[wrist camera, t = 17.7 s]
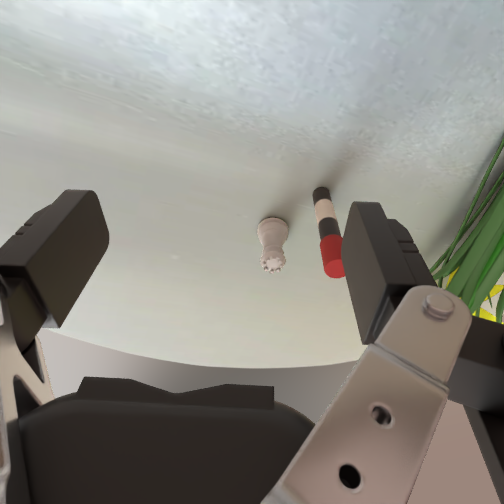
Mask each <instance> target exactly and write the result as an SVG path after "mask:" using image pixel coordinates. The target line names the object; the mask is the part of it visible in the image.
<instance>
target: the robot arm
mask: <svg viewBox="0 0 504 504" xmlns="http://www.w3.org/2000/svg"><path fill="white" fill-rule="evenodd" d="M413 242H414V241H413V239H412V237H411V235H410V233H409V232H408V230H407V229H406V228H405V227H404V226H403V225H401V224H400V223H399V222H398V221H397V220H395V219H387V217H386V215H385V213H384V211H383V209H382V207H381V205H380V203H378V202H355V201H354V202H353V203H352V205H351V208H350V211H349V215H348V220H347V224H346V228H345V232H344V236H343V240H342V246H341V259H342V264H343V268H344V272H345V276H346V280H347V284H348V288H349V292H350V296H351V300H352V304H353V308H354V312H355V316H356V320H357V325H358V329H359V333H360V337H361V341H362V344H363V345H368V347H367V348H366V350H365V351H364V353H363V354H362V356H361V357H360V359H359V360H358V362H357V363H356V365H355V366H354V368H353V369H352V371H351V372H350V374H349V375H348V377H347V378H346V380H345V381H344V383H343V384H342V386H341V387H340V389H339V390H338V392H337V393H336V395H335V396H334V398H333V399H332V401H331V402H330V404H329V405H328V407H327V408H326V410H325V411H324V413H323V414H322V416H321V417H320V419H319V420H318V422H317V423H316V424H315V423H313V422H312V421H311V420H310V419H308V418H307V417H306V416H305V415H303V414H301V413H300V412H298V411H297V410H295V409H293V408H291V407H289V406H287V405H285V404H283V403H280V402H276V401H274V387H273V386H272V387H271V386H255V385H236V384H225V385H220V386H214V387H210V388H204V389H199V390H194V391H189V392H184V393H171V392H168V391H165V390H162V389H159V388H156V387H153V386H150V385H146V384H143V383H141V382H138V381H135V380H132V379H121V378H102V377H84V378H83V380H82V382H81V384H80V386H79V389H78V391H77V392H75V393H71V394H68V395H65V396H61V397H59V398H56V399H55V397H54V394H53V391H52V388H51V384H50V380H49V375H48V371H47V367H46V363H45V359H44V355H43V351H42V347H41V343H40V340H39V338H38V337H37V335H36V334H37V333H38V331H39V330H40V328H41V327H42V328H60V327H61V325H62V324H63V322H64V320H65V319H66V317H67V315H68V314H69V312H70V310H71V309H72V307H73V305H74V304H75V302H76V300H77V299H78V297H79V295H80V294H81V292H82V290H83V289H84V287H85V285H86V284H87V282H88V280H89V279H90V277H91V275H92V274H93V272H94V270H95V269H96V267H97V265H98V264H99V262H100V260H101V259H102V257H103V255H104V254H105V252H106V250H107V248H108V245H109V231H108V228H107V225H106V221H105V218H104V215H103V212H102V209H101V206H100V202H99V199H98V197H97V195H96V193H95V192H94V191H92V190H70V189H68V190H65V191H64V192H63V193H62V194H61V195H60V196H59V197H58V198H57V199H56V200H55V201H54V202H53V203H52V205H51V204H50V205H49V206H47V207H45V208H43V209H41V210H40V211H38V212H36V213H34V214H33V216H32V217H31V218H30V219H29V220H28V221H27V222H26V223H25V224H24V226H22V227H21V228H20V229H19V230H18V231H17V232H16V235H13V236H12V237H11V238H10V239H9V240H8V241H7V242H6V243H5V244H4V245H3V246H2V247H1V248H0V504H407V502H408V500H409V497H410V494H411V492H412V489H413V486H414V484H415V481H416V479H417V476H418V474H419V471H420V468H421V466H422V463H423V461H424V458H425V456H426V453H427V451H428V448H429V445H430V442H431V440H432V437H433V435H434V432H435V430H436V427H437V425H438V422H439V419H440V417H441V414H442V412H443V409H444V406H445V404H446V401H447V399H448V400H452V401H454V402H457V403H460V404H463V406H464V409H465V411H466V414H467V416H468V419H469V422H470V424H471V427H472V429H473V432H474V435H475V437H476V440H477V443H478V445H479V448H480V450H481V453H482V456H483V458H484V461H485V463H486V466H487V468H488V471H489V473H490V476H491V479H492V482H493V484H494V487H495V489H496V492H497V495H498V497H499V500H500V502H501V504H504V324H501V323H498V322H494V321H491V320H487V319H484V318H480V317H477V316H474V315H471V312H470V310H469V308H468V306H467V305H466V304H465V303H464V302H463V301H462V300H461V299H460V298H459V297H457V296H456V295H454V294H453V293H451V292H449V291H447V290H445V289H442V288H439V287H438V286H437V284H436V282H435V280H434V278H433V277H432V275H431V273H430V271H429V269H428V267H427V265H426V263H425V262H424V260H423V258H422V256H421V254H420V253H419V250H418V248H417V247H416V245H415V244H414V243H413Z"/></svg>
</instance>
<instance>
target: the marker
mask: <svg viewBox="0 0 504 504" xmlns="http://www.w3.org/2000/svg"><path fill="white" fill-rule="evenodd" d="M313 201H314V206H315V213H316V218H317V224H318V228H319V233H320V238H321V243H320V249H321V254H322V260H323V265H324V271H325V273H326V274H327V275H328V276H329V277H332V278H341V277H344V276H345V272H344V268H343V264H342V259H341V246H342V240H343V238H342V237H341V234H340V230H339V227H338V222H337V218H336V214H335V210H334V207H333V203H332V200H331V196H330V193H329V190H328V189H327V188H324V187H319V188H317V189H316V190H314V192H313Z"/></svg>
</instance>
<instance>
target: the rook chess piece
mask: <svg viewBox="0 0 504 504" xmlns="http://www.w3.org/2000/svg"><path fill="white" fill-rule="evenodd" d="M257 233H258V238H259V241H260V242H261V243H262V244H263V247H264V250H263V251H262V257H261V259H260V263H261V265H262V266H263V267H264V270H265V271H266V272H267V271H268V270H269V271H270V273H273V274H274V271H276V272H277V273H278V272H280V269H281V268H282V269H283V266H284V265H285V262H286V259H285V256H284V255H283V254H284V252H283V249H282V245H283V244H284V243H285V241H286V240H287V237H288V226H287V224H286V223H285V222H284V221H283V220H281V219H279V218H268V219H265V220H263V221H262V222H261V223H260V224H259V226H258V229H257Z"/></svg>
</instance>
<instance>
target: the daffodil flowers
mask: <svg viewBox="0 0 504 504" xmlns="http://www.w3.org/2000/svg"><path fill="white" fill-rule="evenodd" d="M503 147H504V138H503V140H502V142H501V144H500V146H499V148H498V150H497V151H496V153H495V155H494V157H493V159H492V161H491V163H490V165H489V167H488V169H487V171H486V174H485V176H484V178H483V180H482V182H481V184H480V186H479V189H478V191H477V193H476V195H475V197H474V199H473V202H472V204H471V206H470V208H469V210H468V212H467V214H466V217H465V219H464V221H463V223H462V225H461V227H460V229H459V231H458V234H457V236H456V238H455V240H454V242H453V243H452V244H451V245H450V247H449V248H448V249H447V250H446V252H445V253H444V254H443V255H442V256H441V257H440V259H439V260H438V261H437V262H436V263H435V265H434V266H433V267H432V268H431V269H430V270H429V271H430V273H432V272H433V271H434V270H435V269H436V268H437V267H438V266H439V265H440V264H441V263H442V261H443V260H444V259H445V258H446V259H445V261H444V263H443V266H442V269H441V270H439V271H438V272H437V273H436V274H435V275H433V276H432V277H433V278H434V280H436V279H438V278H439V283H438V287H439V288H442V281H443V278H444V277H446V276H448V275H449V274H450V276H449V280H448V283H447V286H446V289H445V290H447V291H449V292H451V293H453V294H454V295H456V296H457V297H459V298H460V299H461V300H462V301H463V302H464V303H465V304H466V305H467V306H468V308H469V310H470V312H471V315H474V316H477V317H480V318H484V319H487V320H491V321H494V322H498V323H501V324H504V323H503V322H502V314H503V310H504V285H495V284H496V282H497V281H498V279H499V278H500V276H501V275H502V273H503V272H504V183H503V185H502V186H501V188H500V189H499V191H498V193H497V194H496V196H495V198H494V199H493V201H492V203H491V204H490V206H489V207H488V209H487V210H486V212H485V213H484V215H483V217H482V218H481V220H480V221H479V223H478V224H477V226H476V227H475V229H474V230H473V231H472V233H471V234H470V235H469V237H468V238H467V239H466V241H465V242H464V243H463V245H462V246H461V247H460V248H459V249H458V251H457V252H456V253H455V254H454V255H453V257H452V258H451V259H450V260H449V258H450V256H451V254H452V252H453V250H454V248H455V246H456V245H457V243H458V242H459V241H460V239H461V238H462V237H463V236H464V234H465V233H466V232H467V230H468V229H469V228H470V226H471V225H472V224H473V222H474V221H475V220H476V218H477V217H478V216H479V214H480V213H481V212H482V210H483V209H484V207H485V206H486V205H487V203H488V202H489V200H490V199H491V197H492V196H493V194H494V193H495V191H496V190H497V188H498V187H499V185H500V184H501V182H502V181H503V179H504V170H503V172H502V174H501V175H500V177H499V178H498V180H497V181H496V183H495V184H494V186H493V187H492V189H491V190H490V192H489V193H488V195H487V196H486V198H485V199H484V201H483V202H482V204H481V205H480V207H479V208H478V210H477V211H476V212H475V214H474V215H473V216H472V218H471V219H470V220H469V222H468V223H467V221H468V219H469V217H470V215H471V213H472V211H473V208H474V206H475V204H476V202H477V200H478V198H479V196H480V194H481V191H482V189H483V187H484V185H485V183H486V181H487V179H488V176H489V174H490V172H491V170H492V168H493V166H494V164H495V162H496V160H497V158H498V156H499V154H500V153H501V151H502V149H503ZM466 223H467V224H466ZM465 225H466V226H465ZM448 261H449V262H448ZM501 290H502V292H501V295H500V297H499V300H498V303H497V307H496V317H494V316H493V315H492V314H490V313H489V312H487V311H486V310H484V309H482V308H481V307H480V306H481V304H482V302H483V301H485V300H487V299H489V302H490V305H491V308H492V303H491V297H492V296H494V295H496V294H497V293H499V292H500V291H501Z"/></svg>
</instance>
